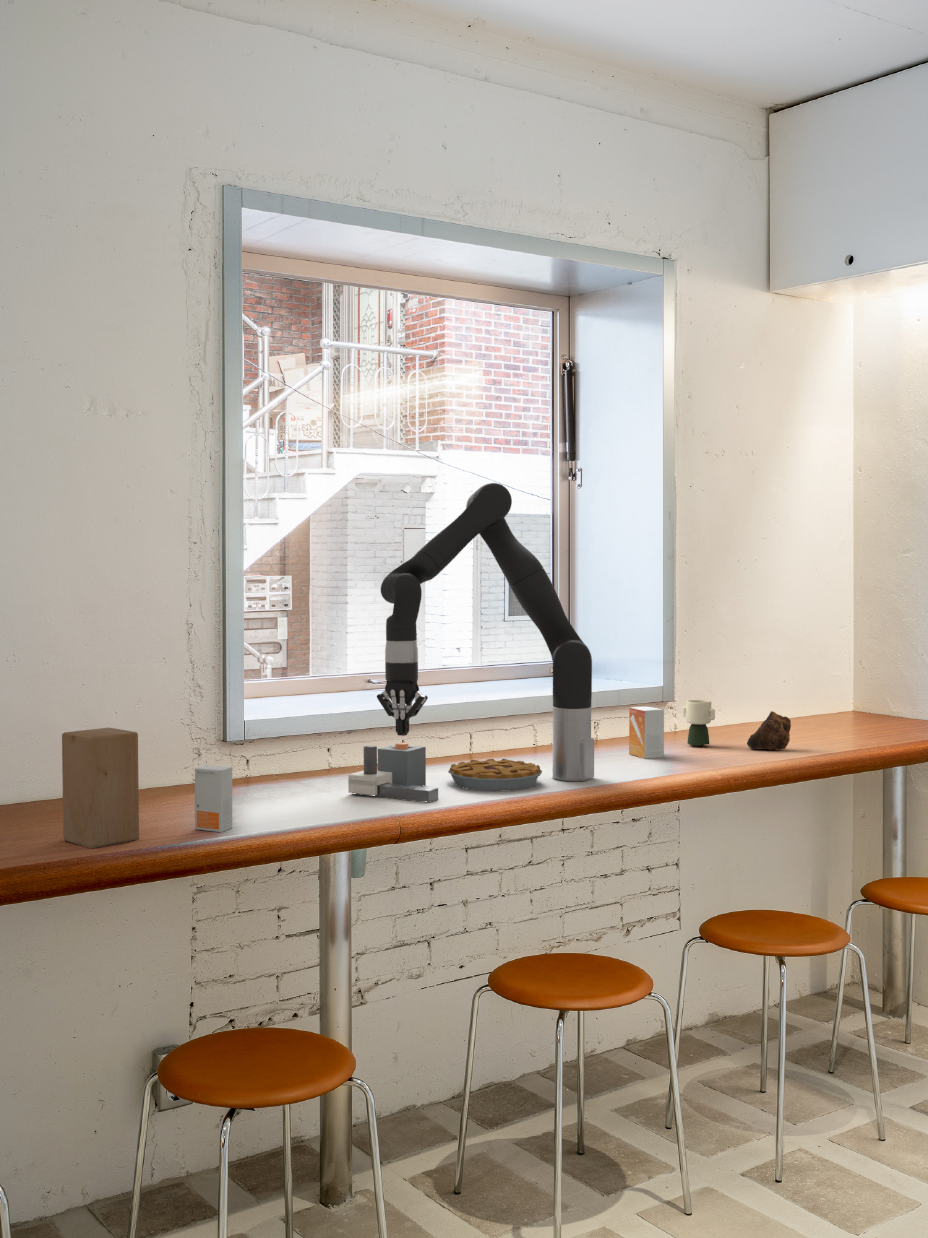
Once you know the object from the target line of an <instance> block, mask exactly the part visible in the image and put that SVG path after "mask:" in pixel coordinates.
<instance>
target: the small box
mask: <svg viewBox="0 0 928 1238" xmlns="http://www.w3.org/2000/svg"><path fill="white" fill-rule="evenodd" d="M628 708H629V713H628V714H629V715H628V716H629V717H628V718H629V723H628V725H629V727H628V729H629V730H628V732H629V733H628V738H629V739H628V754H629V755H632V756H634V757H635V756H636V757H638V758H641V759H645V760H646V759H648V758H649V759H659V758H660V759H661V758H664V757H665V710H664V709H661V708H657V707H652V706H647V705H646V706H632V707H631V706H630V707H628Z"/></svg>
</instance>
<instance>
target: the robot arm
mask: <svg viewBox="0 0 928 1238" xmlns="http://www.w3.org/2000/svg"><path fill="white" fill-rule="evenodd" d="M512 503H513V500H512V494H511V492H510V491H509V490H508V488H507V487H505V486H504V485H503V484H501V483H498V482H490V483H487V484H484V485H482V486H480V487H479V488H478V489H476V490H475V491H474V492H473V493H472V494H471V495H470V496H469V497H468V499H467V501H466V506H465V509H464V510H463V511H462V513H460V515H458V516H457V517H456V518H455V519H454V520H453V521H452V522H451V523H449V524H448V525H447V526H446V527H445V528H444V529H442V530H441V531H440V532H438V533H437V534H436V535H435V536H434V537H432V538H431V539H430V540H429V541H428V542H427V543H426V544H425V545H423V546H422V547H421V548H420V550H418V551H417V552H416V553H415V554H414V555H413V556H412V557H411V558H410V559H408V560H406V561H405V562H404V563H401V564H400V565H399V566H398V567H396V568H394V569H393V570H392V571H390V572H389V573H387V575H386V576H385V578H384V579H383V580H382V583H381V585H380V594H381V596H382V598H383V599H384V601H385V602H387V603H389V604H391V605H392V604H393V609H392V614H391V615H389V616H388V617H386V621H385V622H386V623H385V648H384V649H385V650H384V654H385V656H384V661H385V664H384V665H385V666H384V669H385V675H384V677H385V682H386V684H385V685H384V690H383V691H382V692H381V693H378V694H377V695H376V698H377V701H378V702H379V703H380V705H381V707H382V708H383V709H384V711H385V712H386V714H387V716H388V717H393V718H394V719H395V733H396V734H397V736H402V737H404V736H407V735H408V734H409V731H410V719H411V718H413V717H416V716H417V715H418V714H419V712H420V710H421V709H422V708H423V706H424V705H425V703H426V702H427V701H428V695H425V694H423V693H421V691H420V686H419V685H418V681H419V650H418V649H419V648H418V641H417V620H418V616H419V614H420V613H419V612H420V607H421V601H422V595H423V593H422V586H421V585H422V584H423V583H425V582H428V581H431V580H433V579H434V578H435V577H437V576H438V575H439V574H440V573H441V572H442V571H444V569H445V568H447V566H448V565H449V564H451V562H452V561H453V560H454V559H456V557H457V556H458V555H459V554H460V553H462V551H463V550H464V549H465V547H467V546H468V544H470V543H471V541H473V540H474V539H475V538H476V537H477V536H478V535H480V537H481V539H482V540H483V541H484V543H485V544H486V545H487V548H488V549H489V550H490V552H491V555H493V557H494V560H495V561H496V563H497V565H498V567H499V568H500V570H501V573H502V574H503V575H504V578H505V579H506V582H507V583H508V586H509V588H510V589H511V591H512V593H513V594H514V596H515V597H516V599H517V602H518V603H519V604H520V606H521V607H522V609H523V610H524V612H525V613H526V615H527V616H528V617H529V618H530V620H531V621H532V622H533V623H534V625H535V626H536V628H537V629H538V630H539V632H540V634H541V635H542V637H543V640H544V641H545V644H546V646H547V648H548V651H549V653H550V655H551V658H552V778H553V779H554V780H558V781H566V782H567V781H570V782H572V781H574V782H575V781H577V782H580V781H581V782H586V781H588V780H591V779H592V778H593V779H594V778H595V738H594V737H592V697H593V696H592V695H593V691H592V690H593V689H592V687H593V686H592V685H593V677H592V676H593V658H592V653H591V651H590V649H589V647H588V646H587V645H586V644H585V642H584V641H583V640H582V638H581V637H580V635H579V634H578V633H577V632H576V630H575V629H574V627H573V625H572V624H571V622H570V621H569V619H568V617H567V616H566V613H565V611H564V609H563V608H564V607H563V605H562V604H561V600H560V598H559V596H558V593H557V591H556V589H555V587H554V585H553V583H552V581H551V578H550V577H549V575H548V573H547V571H546V569H545V568H544V567H543V565H542V563H541V562H540V560H539V559H538V558H537V557H536V556H535V555H534V554H533V553H532V552H531V551H530V550H529V549H528V548H526V547H525V546H524V545H523V544H522V543H521V542H520V541H519V540H518V539H517V537H515V535H514V534H513V532H512V531H511V528H510V527H509V524H508V523H507V521H506V516H507V515H508V514H509V512H510V511H511V508H512V505H513V504H512ZM413 701H414V703H413Z"/></svg>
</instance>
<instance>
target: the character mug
mask: <svg viewBox="0 0 928 1238" xmlns="http://www.w3.org/2000/svg"><path fill="white" fill-rule="evenodd" d="M682 717H684V718H685V721H686V723H688V724H689V728H688V736H687V745H690V746H694V745H695V746H701V747H702V746H703V747H704V746H705V745H709V746H710V735H709V734H710V733H709V728H708V726H707V725H708V724H710V723H711V722H712V721H715V718H716V710H715V709H714V708H712V701H711V700H707V699H687V700H686V701H685V705H683V707H682Z"/></svg>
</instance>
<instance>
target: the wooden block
mask: <svg viewBox="0 0 928 1238" xmlns="http://www.w3.org/2000/svg"><path fill="white" fill-rule="evenodd" d="M138 733H139V732H137V731H131V730H127V729H126V730H125V729H120V728H113V727H102V728H93V729H84V730H74V731H65V732H62V735H61V757H62V759H61V765H62V770H61V772H62V830H63V831H62V834H63V835H62V836H63V837H62V838H63V841H66V842H69V843H72V844H75V845H79V846H81V847H86V848H88V849H97V848H101V847H108V846H111V845H116V844H117V845H118V844H122V843H129V842H131V841H137V840H139V839H140V808H139V807H140V804H139V801H140V799H139V797H140V795H139V792H140V791H139V734H138Z"/></svg>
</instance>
